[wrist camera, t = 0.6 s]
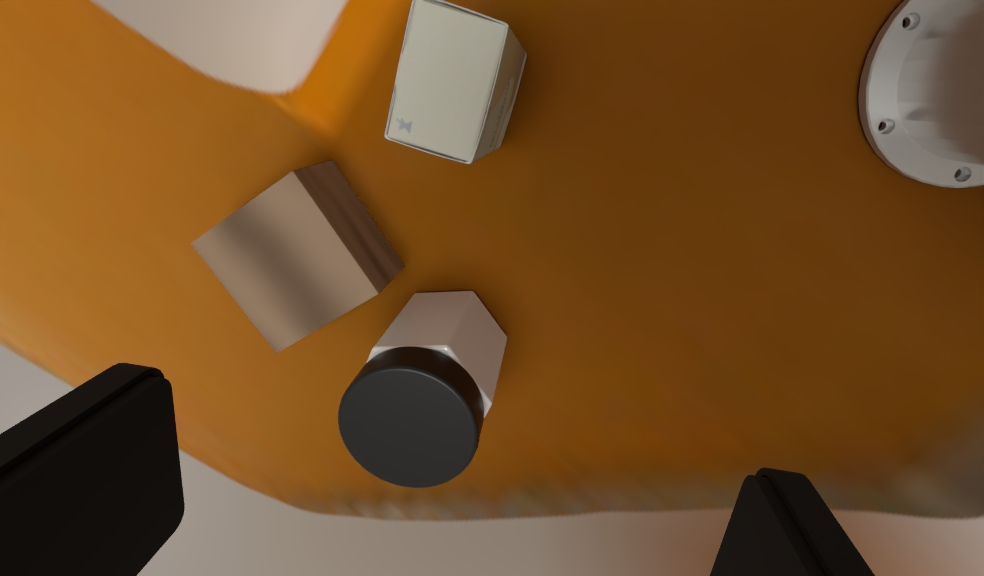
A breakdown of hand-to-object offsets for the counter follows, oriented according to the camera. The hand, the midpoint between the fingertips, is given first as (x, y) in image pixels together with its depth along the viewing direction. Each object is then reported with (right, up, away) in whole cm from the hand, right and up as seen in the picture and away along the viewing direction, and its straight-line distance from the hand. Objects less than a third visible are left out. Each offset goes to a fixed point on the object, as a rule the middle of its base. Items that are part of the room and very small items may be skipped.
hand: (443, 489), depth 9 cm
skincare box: (0, +16, +26) cm, 30 cm away
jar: (-2, 0, +32) cm, 32 cm away
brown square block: (-12, +7, +31) cm, 34 cm away
